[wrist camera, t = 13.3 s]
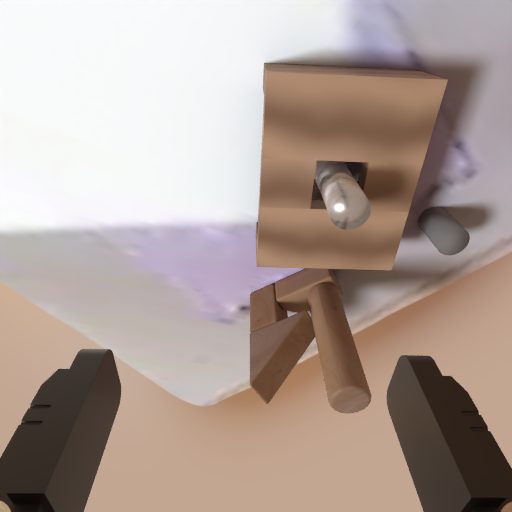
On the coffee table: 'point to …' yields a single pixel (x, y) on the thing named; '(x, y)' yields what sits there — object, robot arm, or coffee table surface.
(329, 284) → the brown angled frame
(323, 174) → the long pin
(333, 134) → the brown block with hole
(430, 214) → the short pin
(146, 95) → the coffee table surface
